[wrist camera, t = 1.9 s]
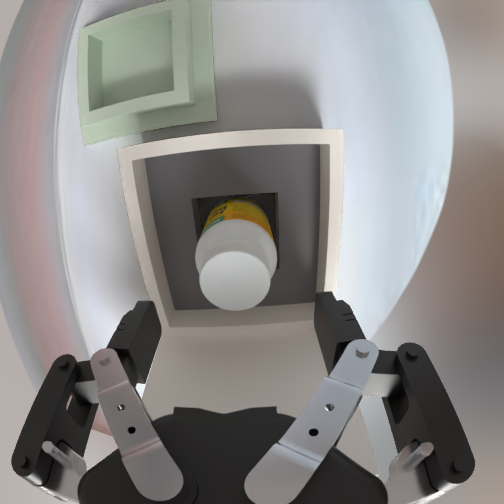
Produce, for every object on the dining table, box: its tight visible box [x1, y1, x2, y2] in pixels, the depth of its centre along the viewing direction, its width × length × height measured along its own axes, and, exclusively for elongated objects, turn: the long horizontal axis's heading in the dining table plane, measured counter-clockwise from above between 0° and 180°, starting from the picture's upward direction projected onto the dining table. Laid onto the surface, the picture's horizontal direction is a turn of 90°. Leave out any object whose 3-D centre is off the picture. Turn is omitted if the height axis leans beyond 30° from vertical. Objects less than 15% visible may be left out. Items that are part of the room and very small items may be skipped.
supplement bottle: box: [195, 196, 277, 311], centre depth 19 cm, size 5×5×10 cm
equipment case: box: [117, 128, 379, 477], centre depth 15 cm, size 17×15×19 cm
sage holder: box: [78, 0, 217, 146], centre depth 16 cm, size 12×12×3 cm
